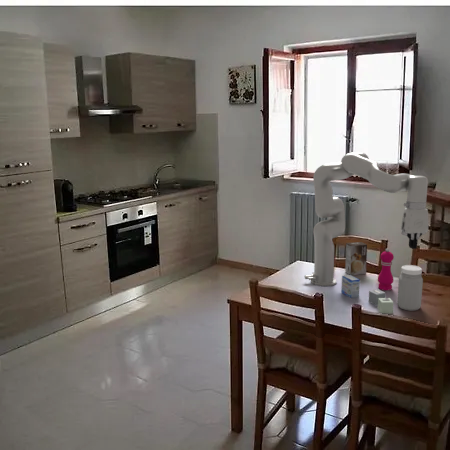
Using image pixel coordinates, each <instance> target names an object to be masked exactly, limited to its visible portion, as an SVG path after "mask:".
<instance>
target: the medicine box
mask: <svg viewBox="0 0 450 450" xmlns="http://www.w3.org/2000/svg"><path fill="white" fill-rule="evenodd" d="M360 282H361V280H360V279H359V278H357V277H355V276H354V275H349V274H345V275H342V276H341V288H340V289H341V291H340V292H341V294H343V295H345V296H347V297H348V298H351V299H354V298H355V299H356V298H359V297H360V284H361V283H360Z"/></svg>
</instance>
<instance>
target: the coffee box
mask: <svg viewBox="0 0 450 450" xmlns="http://www.w3.org/2000/svg"><path fill="white" fill-rule="evenodd" d="M367 254H368V244H367V243H364V242H362V241H359V242H357V241H356V242H346V244H345V271H346V272H345V273H346V274H347V275H349V274H350V275H351V276H354V275H355V276H357V275H366V274H367V261H368V260H367V259H368V257H367V256H368V255H367Z"/></svg>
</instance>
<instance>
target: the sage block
mask: <svg viewBox="0 0 450 450" xmlns="http://www.w3.org/2000/svg"><path fill="white" fill-rule="evenodd" d="M394 304H395V303H394V300H392V299H391V297H385V298H378V305H377V310H378V312H379V313H380V312H381V313H380V314H394Z"/></svg>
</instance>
